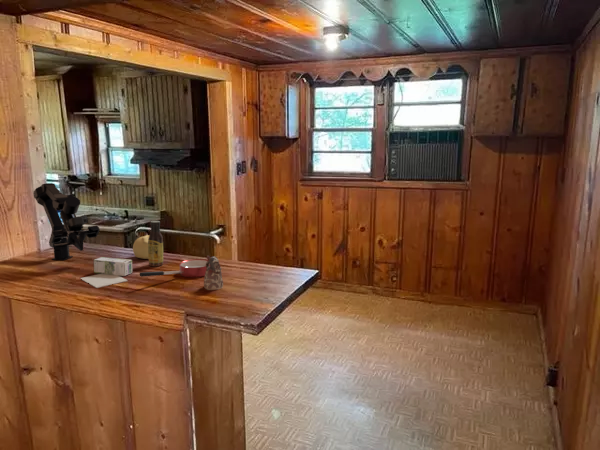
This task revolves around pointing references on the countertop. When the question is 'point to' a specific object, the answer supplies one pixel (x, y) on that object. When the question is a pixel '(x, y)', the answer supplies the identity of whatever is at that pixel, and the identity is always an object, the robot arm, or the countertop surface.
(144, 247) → the tan rounded lump
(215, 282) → the figurine
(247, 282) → the countertop surface
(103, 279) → the mat
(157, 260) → the sauce bottle
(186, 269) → the frying pan
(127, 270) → the syrup box
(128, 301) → the countertop surface
